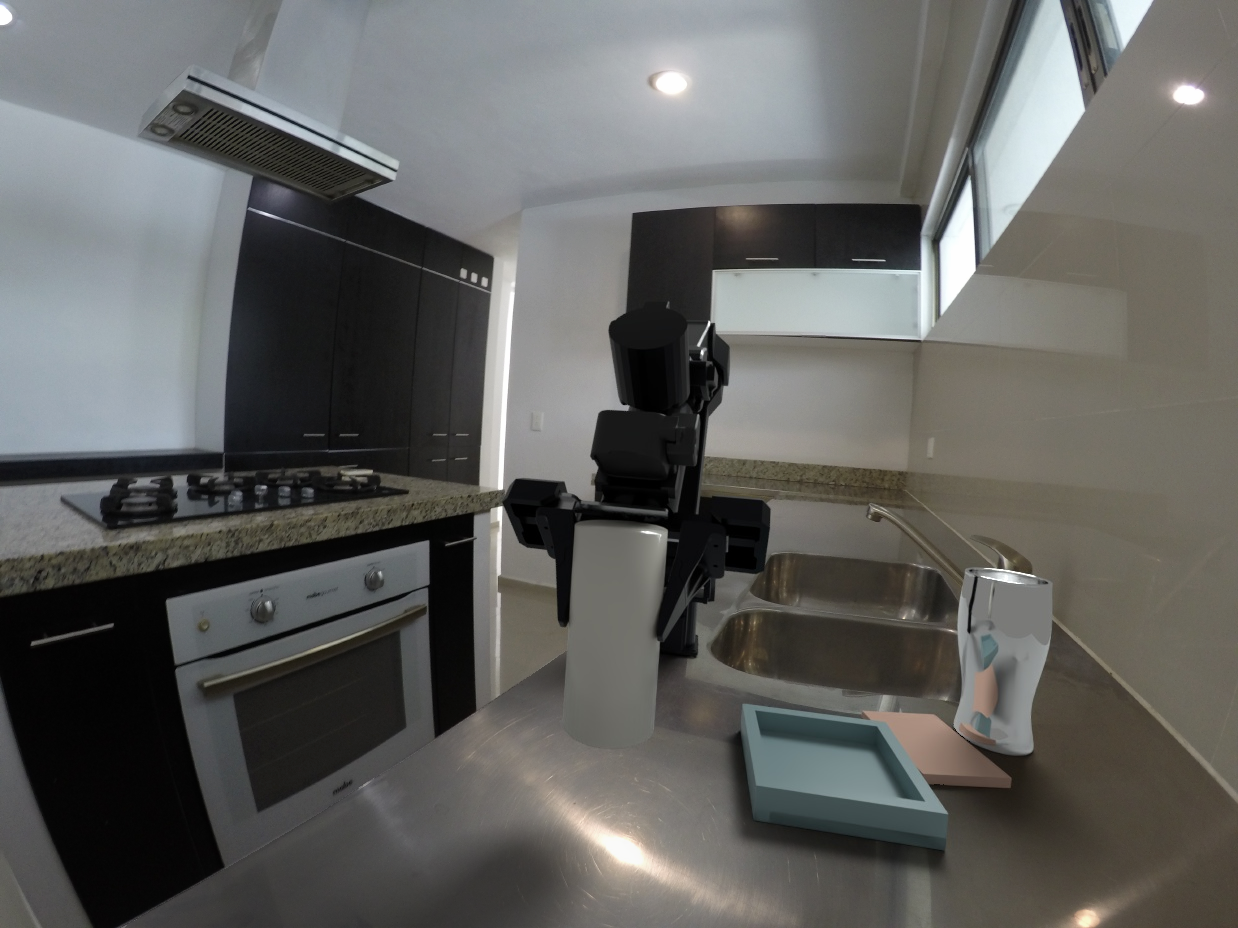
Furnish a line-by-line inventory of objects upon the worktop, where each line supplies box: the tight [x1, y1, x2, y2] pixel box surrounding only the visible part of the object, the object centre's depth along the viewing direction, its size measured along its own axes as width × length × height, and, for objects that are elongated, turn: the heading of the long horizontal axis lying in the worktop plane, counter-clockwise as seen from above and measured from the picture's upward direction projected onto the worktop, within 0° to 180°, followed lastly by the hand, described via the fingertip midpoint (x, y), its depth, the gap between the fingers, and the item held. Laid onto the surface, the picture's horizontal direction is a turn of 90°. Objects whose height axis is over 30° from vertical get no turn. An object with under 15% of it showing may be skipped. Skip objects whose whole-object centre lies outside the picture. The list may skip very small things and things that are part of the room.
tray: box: [739, 703, 949, 852], centre depth 42 cm, size 12×12×2 cm
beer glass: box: [953, 566, 1054, 757], centre depth 50 cm, size 7×7×15 cm
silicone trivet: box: [861, 710, 1012, 789], centre depth 48 cm, size 10×7×1 cm
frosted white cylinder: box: [561, 520, 668, 750], centre depth 36 cm, size 6×6×13 cm
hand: (609, 631), depth 35 cm, fingers closed on frosted white cylinder, 6 cm apart
